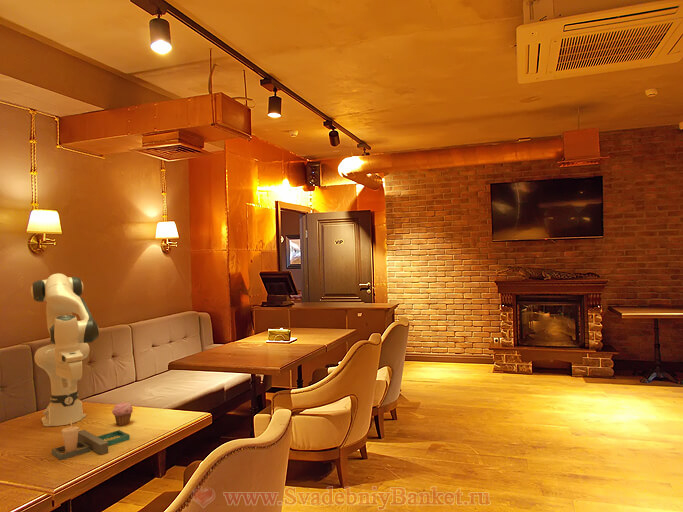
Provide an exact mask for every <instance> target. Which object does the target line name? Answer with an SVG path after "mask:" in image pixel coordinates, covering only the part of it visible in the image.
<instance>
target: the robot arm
mask: <svg viewBox="0 0 683 512" xmlns="http://www.w3.org/2000/svg"><path fill="white" fill-rule="evenodd" d="M84 288H85V287H84V282H83V280H82V279H81V278H80V277H78V276H72V277H71V276H70V277H69V276H67V275H66V274H64V273H53V274H51V275H49V277H47V279H39V280H36V281H33V282H32V285H31V287H30V295H31V297H32V299H33V300H34V301H35V302H39V303H44V302H46V305H45V306H46V307H45V310H46V311H45V312H46V323H47V330H48V331H47V332H48V333H49V342H50V343H51V344H47V345H44V346H42V347H39V348H38V349H36V351H35V353H34V362H35V364H36V365H37V367H39V368H41V369H42V370H44V371H45V372H46V374H47V375H48V377H49V380H50V389H51V394H50V397H49V402H50V403H49V404H48V405H47V407H46V409H45V410H43V411H42V413H43V416H44V417H41V423H42V426H43V427H45V428H46V427H58V426H65V425H66V426H67V425H71V420H70V418H72V424H74V423H77V422H80V421H82V419H84V418H86V417H87V414H86V413H84V411H83V402H82V400H80V399H79V396H80V395H79V390H78V381H79V380H82V377H83V360H85V359H87V358H88V357H89V355H90V349H91V348H90V345H89V343H90V344H92V343H93V342H95V341H96V340H97V338H99V337H100V328H99V324H98V323H97V321H96V320H95V318H94V317H93V315H92V313H91V311H90V308H89V307H88V305H87V303H86V301H85V300H84V298H83V297H81V296H82V295H83V292H84ZM73 313H74V314H76V315H78V316H79V319H80V320H78V318H77V316H76V315H74V314H73Z"/></svg>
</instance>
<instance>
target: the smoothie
mask: <svg viewBox="0 0 683 512" xmlns="http://www.w3.org/2000/svg"><path fill="white" fill-rule="evenodd" d="M70 420H71V424H70V426H68V427H64V428H62V429H61V434H62V439H63V446H64V445H65V451H64V452H65V453H67V452H70V451H73V450H77V449H78V447H77V442H78V431H80V427H79V426H78V425H77V426H75V425H73V423H72V418H70Z"/></svg>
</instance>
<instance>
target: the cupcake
mask: <svg viewBox="0 0 683 512" xmlns="http://www.w3.org/2000/svg"><path fill="white" fill-rule="evenodd" d="M133 410H134V409H133V406H132V404H131V403H130V402H121V403H117V404H116V405H114V407H113V409H112V410H111V411H112V415H113V416H114V419H115V423H116V425H119V426H126V425H127V424H129V423H130V421H131V416H132V413H133Z"/></svg>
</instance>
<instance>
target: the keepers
mask: <svg viewBox="0 0 683 512" xmlns="http://www.w3.org/2000/svg"><path fill="white" fill-rule="evenodd" d="M114 436H115V438H114ZM97 437H98V438H100V439H102V440H104V439H105V440H104V441H106V442H108V447H109V446H112V445H113V446H114V445H117V444H119V443H122V442H126V441H129V440H130V439H131V438H130V437H131V436H130V434H129V433H127V432H124V431H122V430H120V429H118V430H114V431H111V432H108V433H105V434H101V435H97ZM111 437H112V438H111ZM107 438H108V439H107ZM89 452H91V449H90V446H89V445H87V444H85V443H84V442H82V441H77V450H73V451H70V452H67V453H66V451H65V445H64V444H63V445H61V446H58V447H54V448H51V455H52V456H54V457H56V459H58V460H60V461H63V460H66V459H70V458H73V457H76V456H79V455H83V454H86V453H89Z"/></svg>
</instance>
